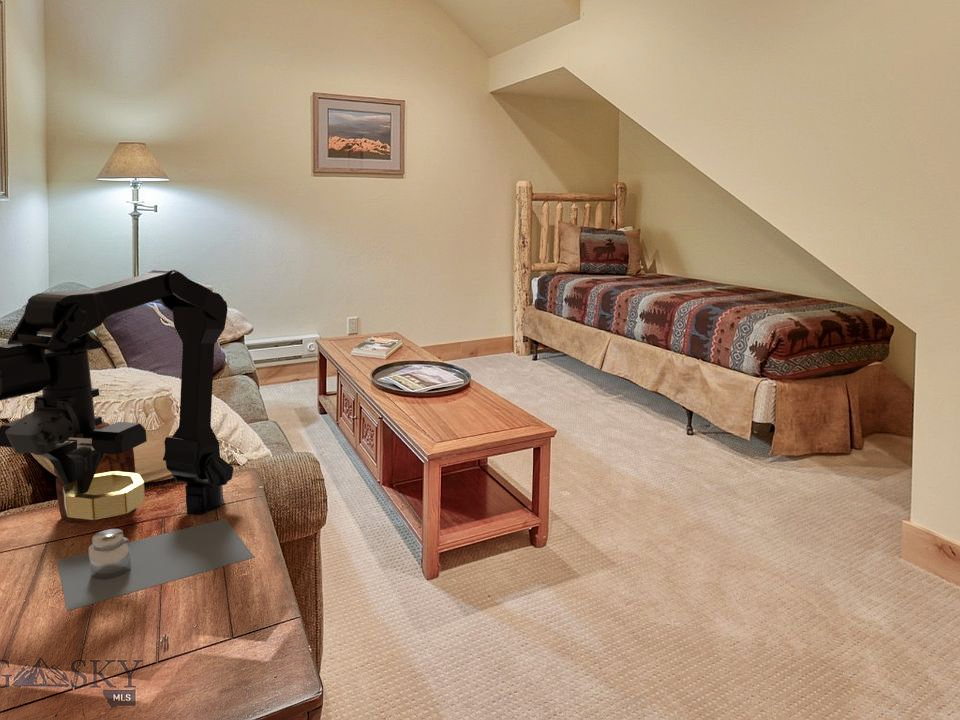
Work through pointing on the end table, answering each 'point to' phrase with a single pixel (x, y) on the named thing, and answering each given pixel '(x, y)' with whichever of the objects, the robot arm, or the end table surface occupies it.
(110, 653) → the end table surface
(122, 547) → the silver calibration weight
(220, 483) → the robot arm
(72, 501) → the brass ring
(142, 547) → the mat
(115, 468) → the wooden figurine
